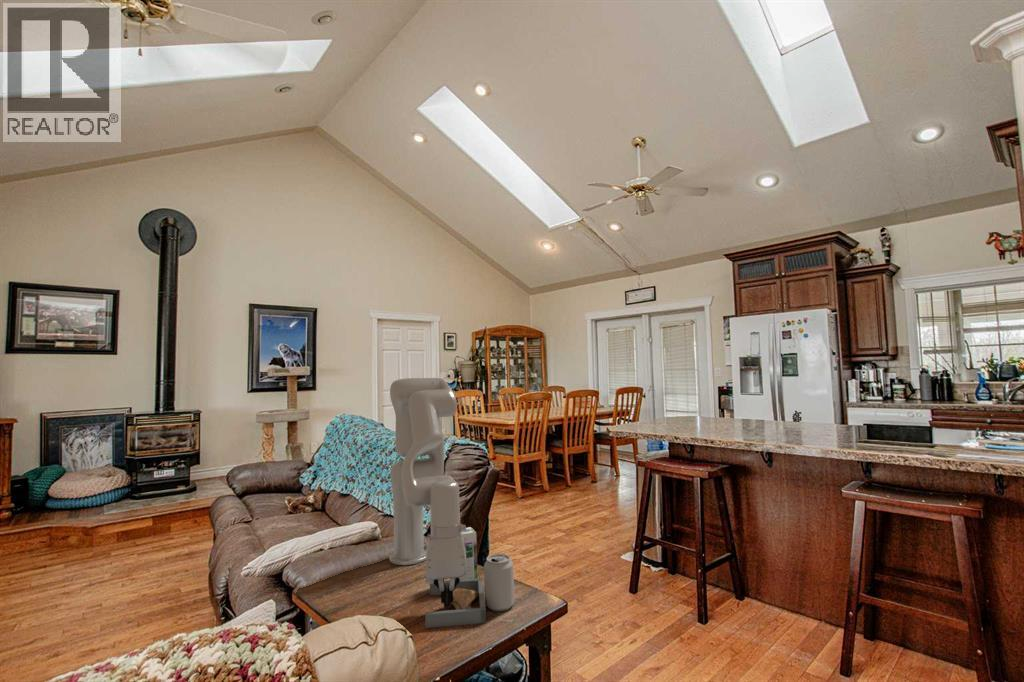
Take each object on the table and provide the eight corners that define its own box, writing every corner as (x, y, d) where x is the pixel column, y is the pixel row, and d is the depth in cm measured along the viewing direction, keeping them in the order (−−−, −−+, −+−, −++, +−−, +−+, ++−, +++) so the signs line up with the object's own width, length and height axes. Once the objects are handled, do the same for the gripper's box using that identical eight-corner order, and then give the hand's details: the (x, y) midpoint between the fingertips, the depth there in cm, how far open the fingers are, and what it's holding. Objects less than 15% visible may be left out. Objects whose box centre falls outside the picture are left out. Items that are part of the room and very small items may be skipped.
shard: (462, 616, 118) (462, 609, 118) (434, 612, 121) (434, 605, 121) (480, 597, 128) (479, 590, 128) (454, 594, 131) (453, 587, 131)
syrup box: (458, 588, 134) (457, 534, 136) (452, 580, 140) (451, 528, 141) (477, 584, 137) (476, 531, 138) (471, 576, 142) (470, 525, 143)
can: (481, 602, 125) (479, 555, 126) (507, 596, 128) (506, 550, 129) (491, 615, 118) (489, 564, 119) (519, 608, 121) (517, 559, 122)
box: (430, 593, 131) (430, 582, 132) (482, 589, 133) (482, 578, 133) (425, 628, 113) (425, 614, 113) (486, 622, 115) (485, 609, 115)
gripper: (474, 524, 128) (476, 596, 127) (417, 528, 127) (418, 601, 125) (475, 533, 121) (477, 609, 119) (414, 537, 119) (416, 615, 118)
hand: (447, 605), depth 122 cm, fingers closed
